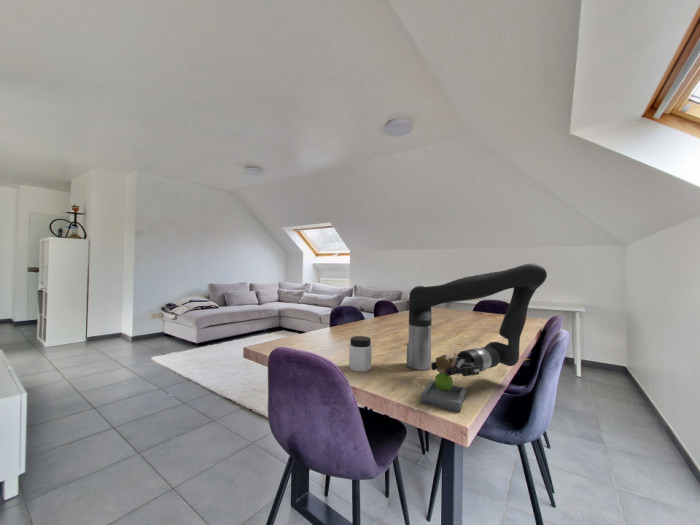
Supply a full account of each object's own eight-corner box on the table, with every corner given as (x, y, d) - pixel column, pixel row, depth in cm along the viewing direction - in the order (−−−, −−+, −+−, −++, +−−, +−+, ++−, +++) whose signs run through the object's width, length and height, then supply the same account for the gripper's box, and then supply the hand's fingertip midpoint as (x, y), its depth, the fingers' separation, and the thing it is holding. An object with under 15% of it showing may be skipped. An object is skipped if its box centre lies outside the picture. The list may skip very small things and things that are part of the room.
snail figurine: (454, 396, 88) (454, 355, 88) (432, 391, 91) (432, 352, 91) (458, 389, 92) (458, 351, 93) (437, 385, 96) (437, 348, 96)
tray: (420, 403, 89) (421, 394, 89) (430, 388, 100) (431, 380, 100) (459, 412, 83) (459, 403, 83) (465, 395, 95) (465, 387, 95)
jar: (346, 365, 121) (346, 336, 122) (364, 363, 125) (364, 335, 125) (355, 373, 113) (355, 341, 113) (374, 370, 116) (374, 340, 117)
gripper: (456, 344, 106) (422, 351, 97) (494, 354, 93) (459, 363, 85) (456, 365, 106) (422, 374, 97) (494, 378, 93) (459, 390, 84)
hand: (439, 369), depth 91 cm, fingers closed on snail figurine, 5 cm apart
